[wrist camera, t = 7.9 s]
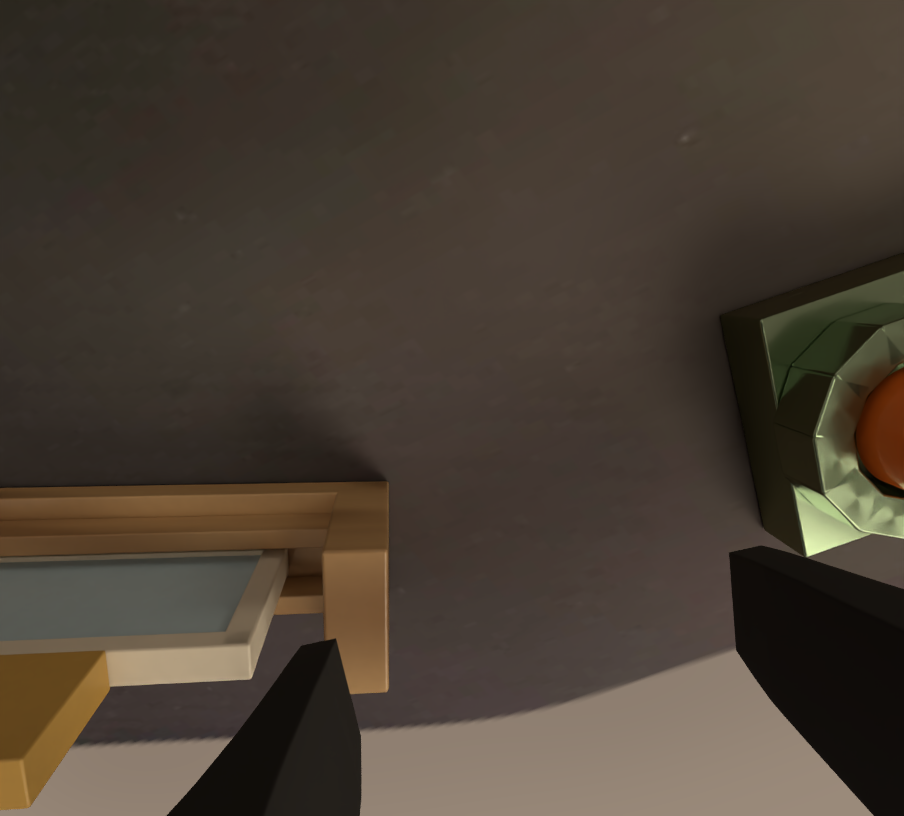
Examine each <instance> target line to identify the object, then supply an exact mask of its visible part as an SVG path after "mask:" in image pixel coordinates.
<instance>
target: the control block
mask: <svg viewBox="0 0 904 816" xmlns="http://www.w3.org/2000/svg"><path fill="white" fill-rule="evenodd" d="M720 319H721V324H722V329H723V333H724V338H725V343H726V348H727V353H728V357H729V362H730V367H731V372H732V377H733V381H734V386H735V391H736V396H737V401H738V405H739V410H740V415H741V420H742V425H743V429H744V434H745V439H746V444H747V449H748V453H749V458H750V463H751V468H752V473H753V477H754V482H755V487H756V492H757V497H758V501H759V506H760V511H761V516H762V521H763V525H764V529H765V531H767V532H768V533H770V534H771V535H773V536H774V537H776V538H777V539H779V540H780V541H782V542H783V543H785V544H786V545H787V546H789V547H790V548H792V549H793V550H795V551H796V552H798V553H799V554H801V555H802V556H804V557H810V556H813V555H815V554H818V553H821V552H824V551H827V550H829V549H832V548H835V547H838V546H841V545H844V544H846V543H849V542H852V541H855V540H858V539H860V538H863V537H866V536H869V535H872V534H877V535H882V536H888V537H894V538H900V539H904V490H902V489H900V488H897V487H895V486H892V485H890V484H888V483H885V482H883V481H881V480H879V479H878V478H876V477H875V476H873V475H872V474H871V473H870V472H869V471H868V470H867V468H866V467H865V466H864V464H863V462H862V461H861V458H860V456H859V453H858V449H857V444H856V428H857V425H858V422H859V419H860V416H861V414H862V411H863V408H864V405H865V402H866V400H867V398H868V397H869V395H870V394H871V392H872V391H873V390H874V389H875V388H876V387H877V386H878V385H879V384H880V383H881V382H882V381H883V380H884V379H885V378H886V377H887V376H889V375H890V374H892V373H893V372H895V371H897V370H898V369H900V368H903V367H904V253H901V254H898V255H896V256H893V257H890V258H887V259H884V260H881V261H878V262H875V263H872V264H869V265H866V266H863V267H860V268H857V269H854V270H851V271H848V272H846V273H843V274H840V275H837V276H834V277H831V278H828V279H825V280H822V281H819V282H816V283H813V284H810V285H807V286H804V287H801V288H799V289H796V290H793V291H790V292H787V293H784V294H781V295H778V296H775V297H772V298H769V299H766V300H763V301H760V302H757V303H754V304H752V305H749V306H746V307H743V308H740V309H737V310H734V311H731V312H728V313H725V314H722V315H721V316H720Z"/></svg>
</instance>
